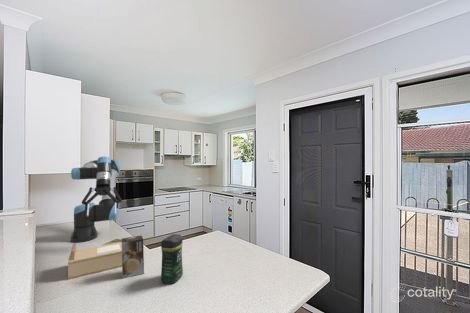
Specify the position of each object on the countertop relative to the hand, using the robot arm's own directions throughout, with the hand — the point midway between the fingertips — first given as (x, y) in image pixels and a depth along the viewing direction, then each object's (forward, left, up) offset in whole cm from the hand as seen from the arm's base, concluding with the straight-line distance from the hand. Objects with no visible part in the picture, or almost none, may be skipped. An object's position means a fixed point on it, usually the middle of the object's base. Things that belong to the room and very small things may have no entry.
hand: (101, 214), depth 128 cm
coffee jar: (+50, +25, -22) cm, 61 cm away
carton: (-2, +4, -22) cm, 23 cm away
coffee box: (+35, +11, -22) cm, 43 cm away
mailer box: (+18, -1, -22) cm, 28 cm away
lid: (+18, -1, -14) cm, 23 cm away
